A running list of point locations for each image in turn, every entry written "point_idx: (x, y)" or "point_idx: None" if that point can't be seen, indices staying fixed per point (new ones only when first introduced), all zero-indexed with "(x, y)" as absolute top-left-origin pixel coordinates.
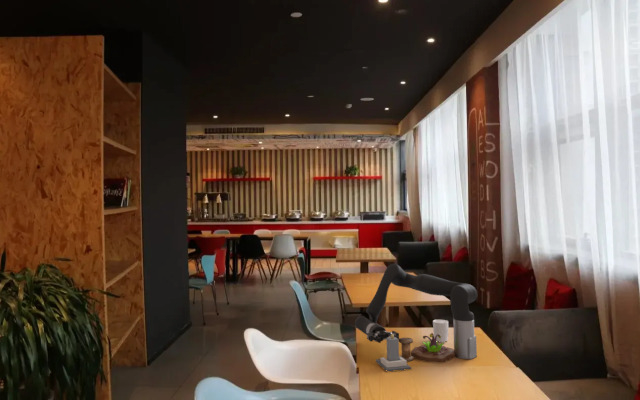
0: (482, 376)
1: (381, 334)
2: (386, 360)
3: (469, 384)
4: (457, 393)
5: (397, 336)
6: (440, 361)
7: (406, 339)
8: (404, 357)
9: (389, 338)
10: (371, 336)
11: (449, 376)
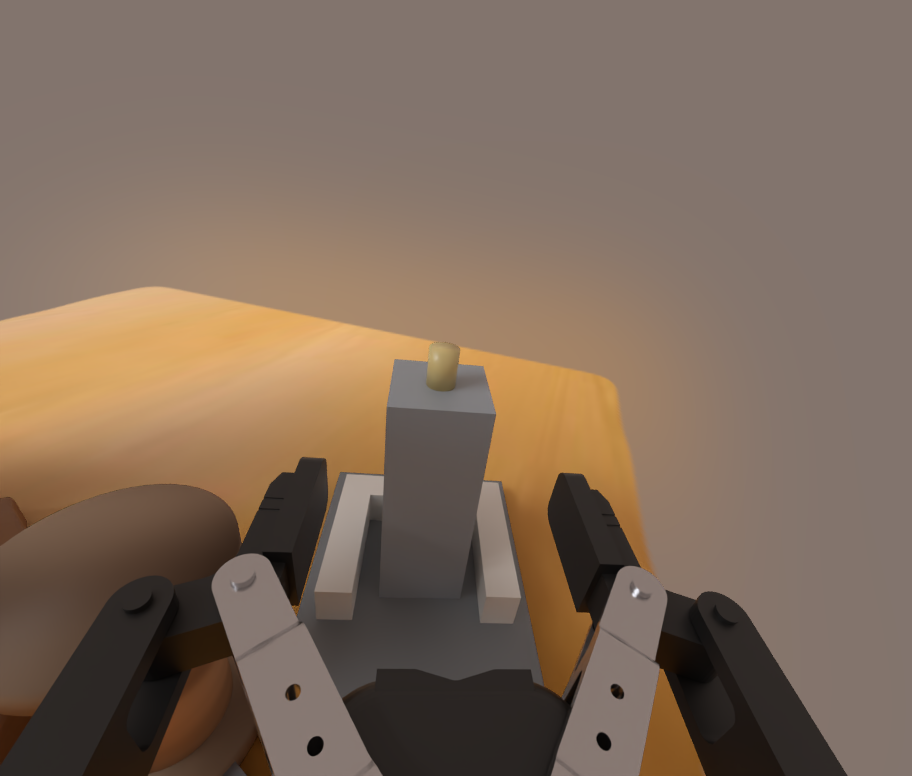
0: (116, 355)
1: (503, 688)
2: (488, 519)
3: (247, 339)
4: (341, 325)
5: (308, 457)
6: (22, 514)
7: (98, 561)
8: (228, 658)
9: (473, 389)
10: (711, 596)
11: (238, 385)
